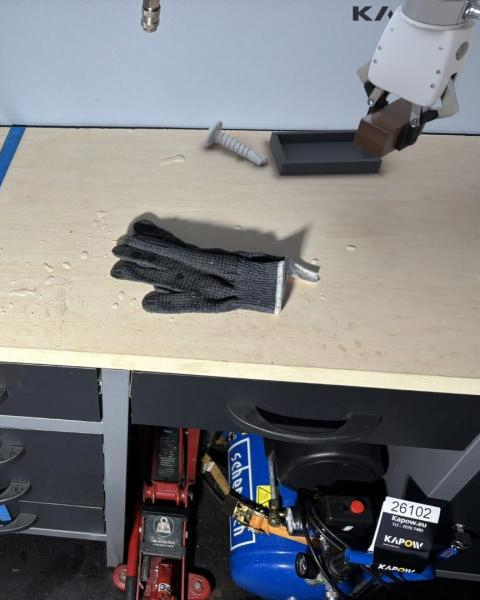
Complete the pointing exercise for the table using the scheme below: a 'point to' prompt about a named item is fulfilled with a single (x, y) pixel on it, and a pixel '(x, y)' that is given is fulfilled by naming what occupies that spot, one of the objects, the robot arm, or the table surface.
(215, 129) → the screw
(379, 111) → the block
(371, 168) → the tray
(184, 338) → the table surface
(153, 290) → the table surface
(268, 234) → the table surface
